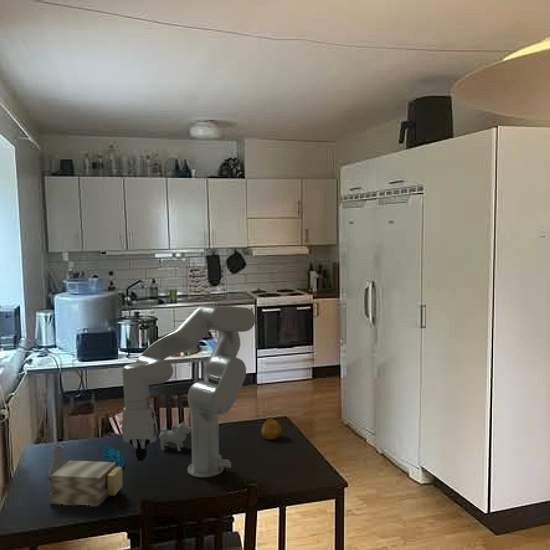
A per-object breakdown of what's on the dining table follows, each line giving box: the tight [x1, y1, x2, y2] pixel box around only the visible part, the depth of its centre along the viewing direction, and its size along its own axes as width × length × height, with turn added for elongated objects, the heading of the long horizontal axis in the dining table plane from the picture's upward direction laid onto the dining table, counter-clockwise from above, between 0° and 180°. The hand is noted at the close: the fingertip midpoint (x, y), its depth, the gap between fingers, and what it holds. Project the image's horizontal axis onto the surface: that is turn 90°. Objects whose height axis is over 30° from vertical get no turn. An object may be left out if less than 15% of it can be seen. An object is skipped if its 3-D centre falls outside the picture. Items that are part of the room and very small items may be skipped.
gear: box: [101, 445, 125, 468], centre depth 194 cm, size 11×6×10 cm
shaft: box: [106, 467, 124, 497], centre depth 172 cm, size 20×6×6 cm, turn 83°
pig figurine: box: [158, 421, 191, 452], centre depth 210 cm, size 5×13×11 cm, turn 83°
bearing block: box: [49, 460, 117, 507], centre depth 172 cm, size 16×14×8 cm
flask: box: [47, 445, 67, 480], centre depth 187 cm, size 7×7×10 cm
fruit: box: [261, 418, 282, 440], centre depth 221 cm, size 8×8×8 cm
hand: (141, 459), depth 170 cm, fingers closed
